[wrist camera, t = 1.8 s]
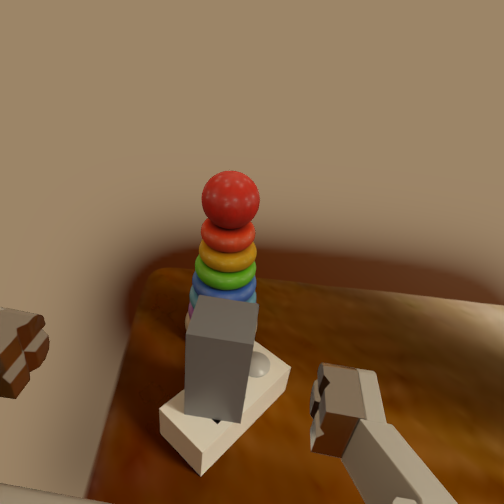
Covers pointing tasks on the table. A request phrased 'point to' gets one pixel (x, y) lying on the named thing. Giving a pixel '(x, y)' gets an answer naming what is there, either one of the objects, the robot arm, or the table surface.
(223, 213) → the stacking toy
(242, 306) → the gray rectangular block
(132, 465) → the table surface
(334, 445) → the robot arm
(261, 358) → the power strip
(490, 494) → the table surface
